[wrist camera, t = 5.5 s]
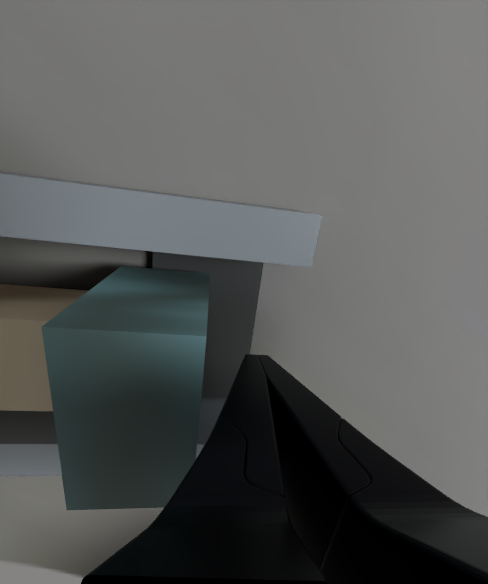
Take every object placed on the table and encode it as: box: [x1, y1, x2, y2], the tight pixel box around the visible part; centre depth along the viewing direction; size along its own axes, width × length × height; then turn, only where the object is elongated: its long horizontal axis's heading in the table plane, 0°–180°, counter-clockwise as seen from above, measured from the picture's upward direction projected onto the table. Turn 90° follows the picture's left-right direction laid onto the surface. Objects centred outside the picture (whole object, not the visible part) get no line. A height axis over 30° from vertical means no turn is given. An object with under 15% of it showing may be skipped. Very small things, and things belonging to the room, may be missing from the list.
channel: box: [0, 172, 323, 476], centre depth 9 cm, size 16×10×2 cm, turn 83°
